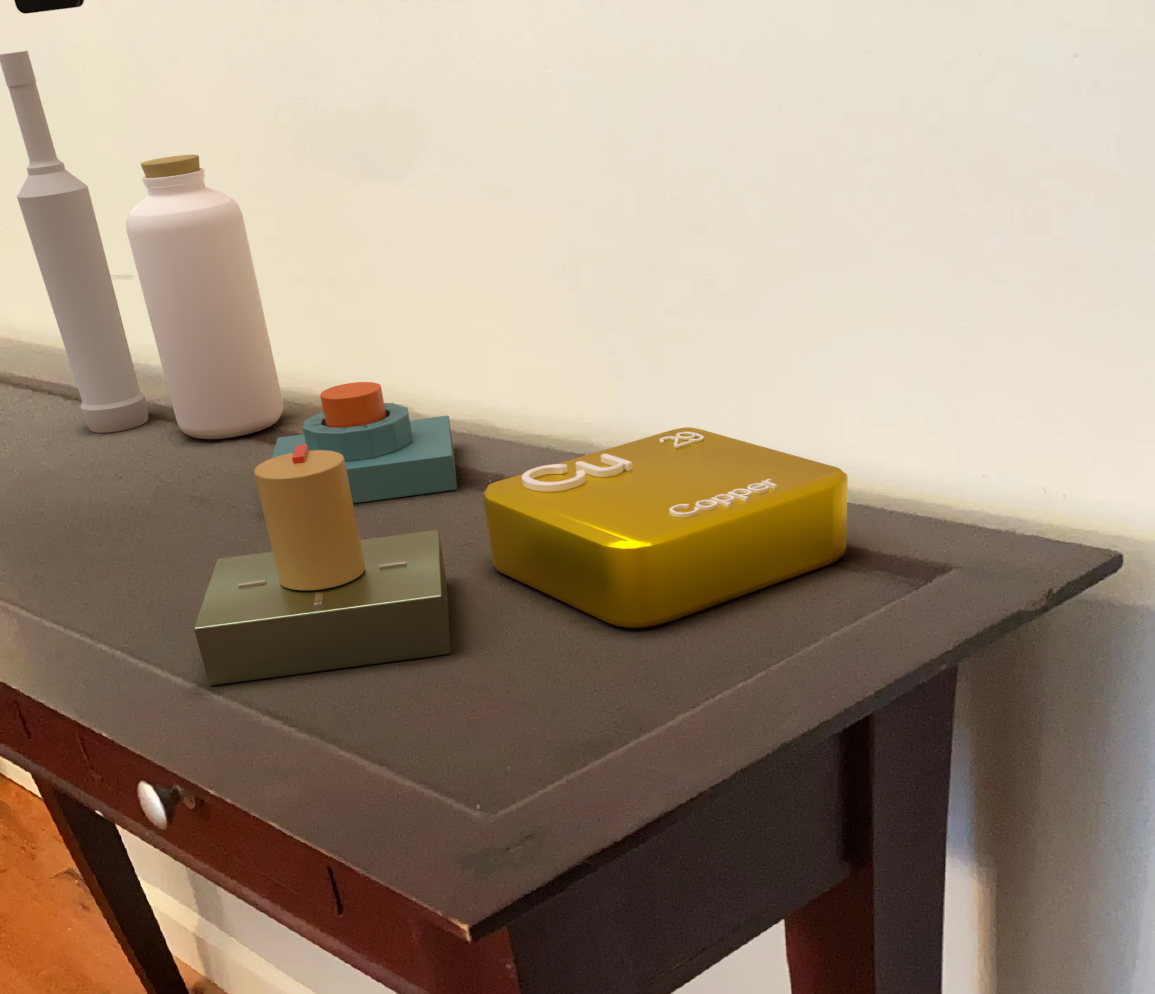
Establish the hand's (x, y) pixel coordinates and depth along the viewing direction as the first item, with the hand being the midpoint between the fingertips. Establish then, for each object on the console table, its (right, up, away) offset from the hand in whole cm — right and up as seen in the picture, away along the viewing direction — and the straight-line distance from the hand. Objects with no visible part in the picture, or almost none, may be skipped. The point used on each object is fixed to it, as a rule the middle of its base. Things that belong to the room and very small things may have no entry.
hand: (52, 9), depth 72 cm
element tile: (+32, -27, +4) cm, 42 cm away
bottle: (-10, -4, +42) cm, 43 cm away
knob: (+14, -30, -1) cm, 33 cm away
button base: (+13, -16, +22) cm, 30 cm away
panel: (+15, -32, +1) cm, 35 cm away
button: (+13, -13, +20) cm, 27 cm away
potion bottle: (0, -6, +37) cm, 38 cm away
